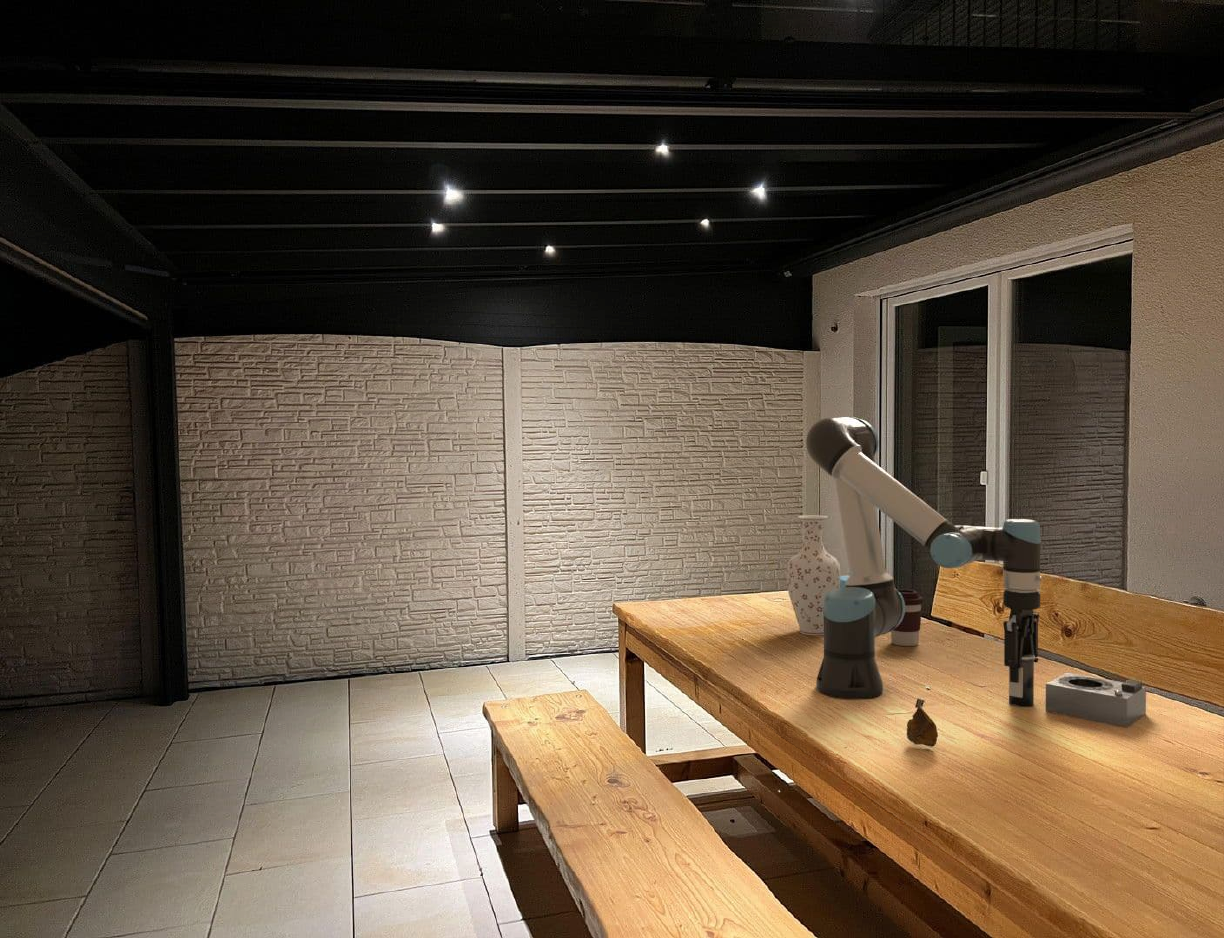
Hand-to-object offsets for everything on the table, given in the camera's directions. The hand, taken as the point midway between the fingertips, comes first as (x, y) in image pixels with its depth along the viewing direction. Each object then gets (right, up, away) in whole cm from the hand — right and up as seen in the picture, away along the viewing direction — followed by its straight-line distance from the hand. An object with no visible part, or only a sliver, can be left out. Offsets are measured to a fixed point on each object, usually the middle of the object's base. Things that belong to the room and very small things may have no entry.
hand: (1021, 693), depth 203 cm
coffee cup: (-8, 0, +56) cm, 57 cm away
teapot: (-10, +2, +98) cm, 98 cm away
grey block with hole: (+13, -2, -7) cm, 15 cm away
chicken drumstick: (-32, -4, -25) cm, 41 cm away
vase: (-30, 0, +72) cm, 78 cm away
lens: (0, -2, 0) cm, 2 cm away
